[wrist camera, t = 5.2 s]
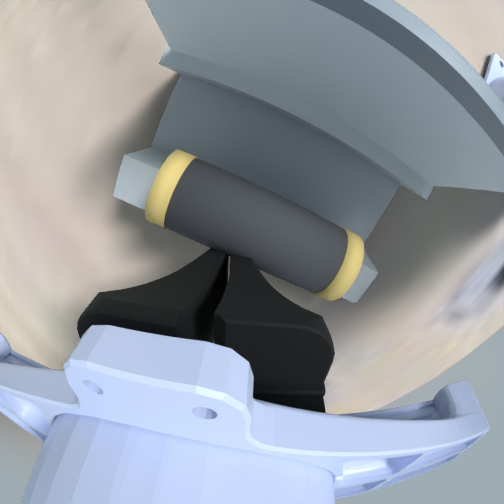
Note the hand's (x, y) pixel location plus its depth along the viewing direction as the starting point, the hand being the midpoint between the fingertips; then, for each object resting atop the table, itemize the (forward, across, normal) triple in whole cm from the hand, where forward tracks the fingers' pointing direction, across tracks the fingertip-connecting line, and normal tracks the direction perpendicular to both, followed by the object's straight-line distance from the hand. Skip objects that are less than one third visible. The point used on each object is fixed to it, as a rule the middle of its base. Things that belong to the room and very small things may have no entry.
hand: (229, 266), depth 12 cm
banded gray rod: (0, -1, -2) cm, 2 cm away
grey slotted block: (+5, -2, -4) cm, 7 cm away
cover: (-3, -3, -8) cm, 9 cm away
